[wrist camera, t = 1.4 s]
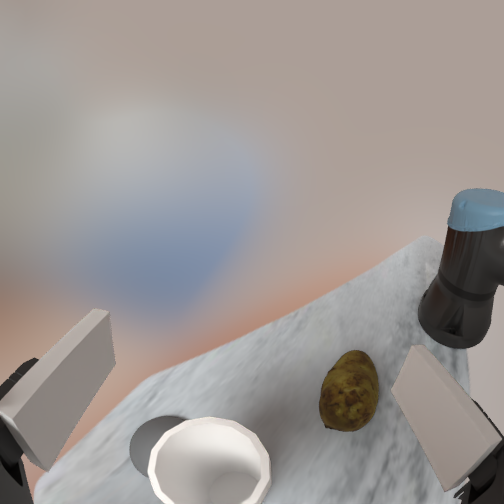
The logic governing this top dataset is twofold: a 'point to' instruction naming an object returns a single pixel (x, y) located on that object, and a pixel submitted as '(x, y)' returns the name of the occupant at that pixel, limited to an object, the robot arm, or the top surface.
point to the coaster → (149, 440)
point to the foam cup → (210, 464)
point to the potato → (349, 393)
